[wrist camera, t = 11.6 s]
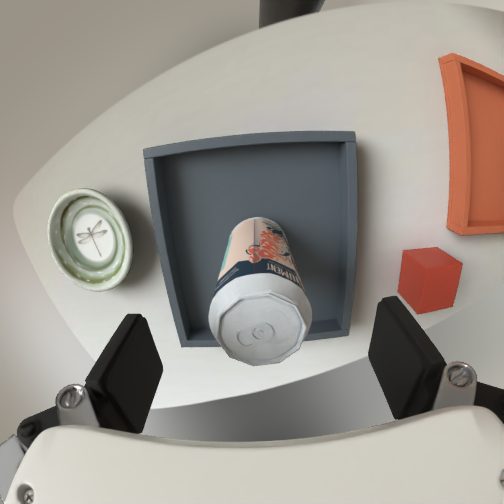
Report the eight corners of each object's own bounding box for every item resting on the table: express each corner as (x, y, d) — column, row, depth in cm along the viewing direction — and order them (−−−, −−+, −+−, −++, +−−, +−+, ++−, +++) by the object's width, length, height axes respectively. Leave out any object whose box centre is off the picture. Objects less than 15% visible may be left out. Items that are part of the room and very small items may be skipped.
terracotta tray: (438, 58, 17) (452, 52, 14) (519, 93, 16) (532, 92, 14) (446, 227, 23) (461, 235, 20) (521, 224, 22) (533, 230, 20)
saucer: (97, 296, 26) (86, 307, 23) (47, 221, 23) (33, 228, 20) (161, 252, 24) (152, 262, 21) (104, 163, 21) (90, 165, 19)
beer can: (295, 256, 23) (329, 349, 12) (245, 279, 24) (238, 383, 13) (271, 205, 22) (290, 264, 10) (218, 231, 22) (184, 311, 11)
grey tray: (154, 149, 21) (142, 149, 18) (344, 133, 20) (355, 131, 18) (186, 331, 27) (181, 347, 24) (341, 320, 26) (348, 335, 24)
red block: (402, 250, 23) (426, 268, 19) (437, 246, 23) (462, 263, 19) (397, 291, 25) (417, 314, 21) (430, 286, 25) (452, 307, 21)
